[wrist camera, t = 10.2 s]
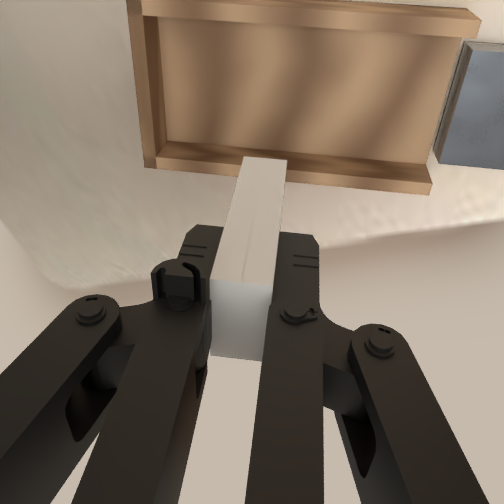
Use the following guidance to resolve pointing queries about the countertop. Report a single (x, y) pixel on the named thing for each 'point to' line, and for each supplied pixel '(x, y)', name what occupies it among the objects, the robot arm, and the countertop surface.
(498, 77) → the grey square tile
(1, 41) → the countertop surface
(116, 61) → the countertop surface
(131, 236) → the countertop surface
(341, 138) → the box
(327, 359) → the robot arm
